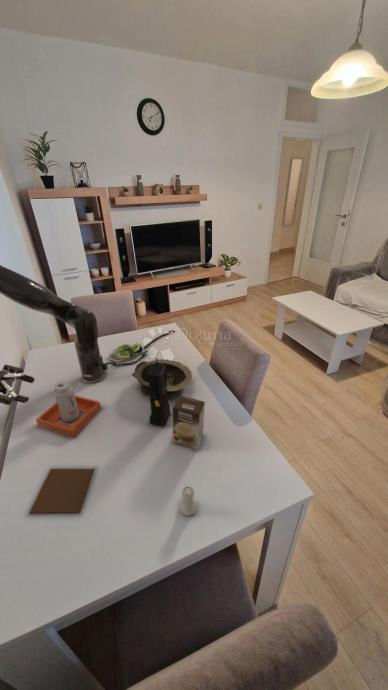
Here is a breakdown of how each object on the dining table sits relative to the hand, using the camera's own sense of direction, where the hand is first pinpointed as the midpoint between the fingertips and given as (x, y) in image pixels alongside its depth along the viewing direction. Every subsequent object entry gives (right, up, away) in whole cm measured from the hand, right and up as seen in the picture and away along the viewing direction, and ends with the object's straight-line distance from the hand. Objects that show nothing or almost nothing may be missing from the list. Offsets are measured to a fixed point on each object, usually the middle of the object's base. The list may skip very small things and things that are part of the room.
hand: (31, 390), depth 97 cm
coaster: (+20, -25, -18) cm, 37 cm away
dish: (+11, -11, +7) cm, 17 cm away
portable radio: (+45, -12, +6) cm, 47 cm away
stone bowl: (+44, -2, +24) cm, 50 cm away
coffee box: (+55, -17, -2) cm, 58 cm away
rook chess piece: (+55, -28, -22) cm, 66 cm away
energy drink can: (+11, -11, +7) cm, 17 cm away
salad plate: (+23, +10, +46) cm, 52 cm away
